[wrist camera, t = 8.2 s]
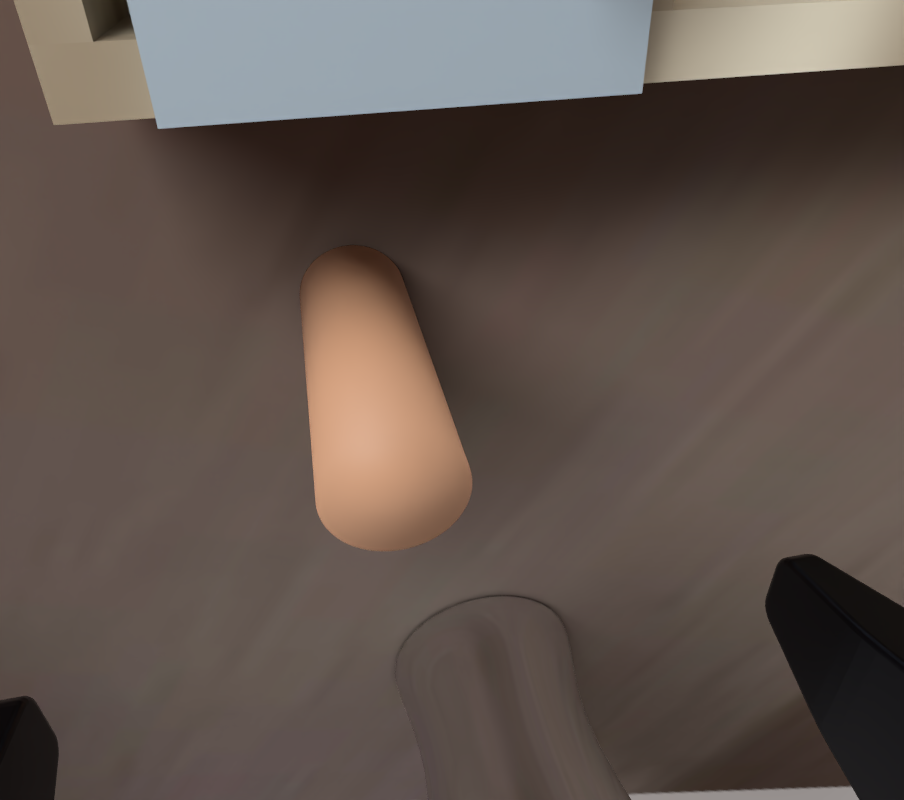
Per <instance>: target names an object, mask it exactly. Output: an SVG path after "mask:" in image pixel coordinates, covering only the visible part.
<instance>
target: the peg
mask: <svg viewBox="0 0 904 800" xmlns="http://www.w3.org/2000/svg"><path fill="white" fill-rule="evenodd" d="M300 305H301V318H302V331H303V344H304V356H305V369H306V382H307V395H308V408H309V421H310V434H311V447H312V460H313V473H314V486H315V499H316V508H317V512H318V515H319V517H320V519H321V521H322V523H323V524H324V526H325V527H326V528H327V529H328V530H329V531H330V532H331V533H332V534H333V535H334V536H335V537H337V538H338V539H340V540H341V541H343V542H345V543H347V544H349V545H352V546H354V547H357V548H361V549H365V550H371V551H396V550H402V549H407V548H411V547H414V546H418V545H420V544H423V543H425V542H428V541H430V540H432V539H433V538H435V537H437V536H439V535H440V534H442V533H443V532H445V531H446V530H447V529H448V528H449V527H451V526H452V525H453V524H454V523H455V522H456V520H457V519H458V518H459V517H460V516H461V514H462V513H463V511H464V510H465V508H466V506H467V504H468V501H469V499H470V496H471V492H472V474H471V470H470V467H469V464H468V461H467V458H466V455H465V453H464V450H463V447H462V444H461V441H460V439H459V436H458V433H457V430H456V427H455V424H454V422H453V419H452V416H451V413H450V410H449V408H448V405H447V402H446V399H445V396H444V394H443V391H442V388H441V385H440V382H439V380H438V377H437V374H436V371H435V368H434V365H433V363H432V360H431V357H430V354H429V351H428V349H427V346H426V343H425V340H424V337H423V335H422V332H421V329H420V326H419V323H418V321H417V318H416V315H415V312H414V309H413V306H412V304H411V301H410V298H409V295H408V292H407V290H406V287H405V284H404V281H403V278H402V276H401V274H400V271H399V270H398V268H397V267H396V265H395V264H394V263H393V262H392V261H391V260H390V259H389V258H388V257H387V256H385V255H384V254H383V253H381V252H379V251H377V250H375V249H372V248H369V247H365V246H358V245H348V246H341V247H338V248H334V249H332V250H329V251H327V252H325V253H324V254H322V255H321V256H319V257H318V258H317V259H316V260H315V261H314V262H313V263H312V264H311V265H310V266H309V268H308V269H307V270H306V272H305V274H304V276H303V279H302V282H301V286H300Z"/></svg>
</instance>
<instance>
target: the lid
mask: <svg viewBox="0 0 904 800" xmlns="http://www.w3.org/2000/svg"><path fill="white" fill-rule="evenodd" d="M127 3H128V7H129V11H130V16H131V20H132V24H133V28H134V32H135V36H136V40H137V44H138V48H139V53H140V57H141V61H142V65H143V69H144V73H145V77H146V81H147V85H148V90H149V94H150V98H151V102H152V106H153V110H154V114H155V118H156V122H157V127H158V129H163V128H176V127H190V126H204V125H218V124H231V123H245V122H259V121H272V120H286V119H300V118H314V117H327V116H341V115H355V114H368V113H382V112H396V111H410V110H423V109H437V108H451V107H464V106H478V105H492V104H506V103H519V102H533V101H547V100H560V99H574V98H588V97H602V96H615V95H629V94H642V90H643V81H644V73H645V64H646V56H647V47H648V39H649V30H650V22H651V13H652V5H653V0H127Z"/></svg>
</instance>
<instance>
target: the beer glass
mask: <svg viewBox="0 0 904 800" xmlns="http://www.w3.org/2000/svg"><path fill="white" fill-rule="evenodd" d="M395 679H396V684H397V688H398V691H399V694H400V697H401V700H402V703H403V705H404V708H405V711H406V713H407V716H408V718H409V721H410V723H411V726H412V729H413V731H414V734H415V737H416V740H417V743H418V746H419V750H420V754H421V758H422V763H423V768H424V772H425V781H426V789H427V797H428V800H631V799H630V797H629V795H628V794H627V792H626V790H625V789H624V787H623V785H622V784H621V782H620V780H619V779H618V777H617V775H616V773H615V772H614V770H613V768H612V766H611V765H610V763H609V761H608V759H607V758H606V756H605V754H604V752H603V751H602V749H601V747H600V745H599V743H598V741H597V739H596V736H595V734H594V732H593V730H592V728H591V725H590V723H589V721H588V718H587V715H586V712H585V709H584V707H583V704H582V701H581V697H580V693H579V689H578V685H577V680H576V675H575V670H574V664H573V659H572V653H571V648H570V643H569V639H568V635H567V632H566V629H565V627H564V625H563V623H562V621H561V620H560V618H559V617H558V616H557V615H556V614H555V613H554V612H553V611H552V610H551V609H550V608H548V607H547V606H545V605H543V604H541V603H539V602H536V601H533V600H530V599H526V598H521V597H514V596H493V597H484V598H479V599H474V600H470V601H467V602H463V603H460V604H458V605H455V606H453V607H450V608H448V609H446V610H444V611H442V612H440V613H438V614H436V615H435V616H433V617H432V618H430V619H429V620H427V621H426V622H424V623H423V624H422V625H421V626H420V627H418V628H417V629H416V630H415V631H414V632H413V633H412V634H411V635H410V637H409V638H408V639H407V640H406V642H405V643H404V645H403V646H402V648H401V650H400V652H399V654H398V657H397V660H396V665H395Z"/></svg>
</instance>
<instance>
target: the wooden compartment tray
mask: <svg viewBox="0 0 904 800" xmlns="http://www.w3.org/2000/svg"><path fill="white" fill-rule="evenodd" d="M14 3H15V6H16V9H17V12H18V15H19V18H20V21H21V24H22V27H23V31H24V34H25V37H26V40H27V43H28V46H29V49H30V52H31V56H32V59H33V62H34V65H35V68H36V71H37V74H38V77H39V80H40V84H41V87H42V90H43V93H44V96H45V99H46V102H47V105H48V109H49V112H50V115H51V118H52V121H53V124H54V125H62V124H77V123H91V122H105V121H119V120H133V119H147V118H155V114H154V110H153V106H152V102H151V98H150V94H149V90H148V85H147V81H146V77H145V73H144V69H143V65H142V61H141V57H140V53H139V48H138V44H137V40H136V36H135V32H134V28H133V24H132V20H131V16H130V11H129V7H128V3H127V0H14ZM898 65H904V0H653V5H652V13H651V22H650V30H649V39H648V47H647V56H646V64H645V73H644V81H643V83H657V82H671V81H685V80H700V79H714V78H728V77H742V76H756V75H770V74H784V73H799V72H813V71H827V70H841V69H855V68H869V67H884V66H898Z"/></svg>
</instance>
